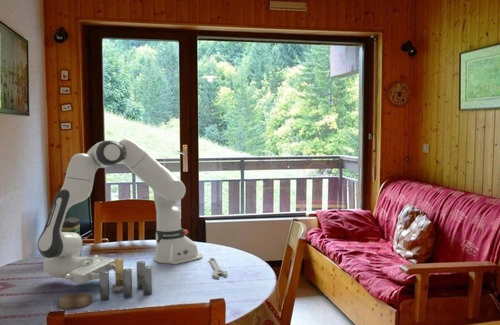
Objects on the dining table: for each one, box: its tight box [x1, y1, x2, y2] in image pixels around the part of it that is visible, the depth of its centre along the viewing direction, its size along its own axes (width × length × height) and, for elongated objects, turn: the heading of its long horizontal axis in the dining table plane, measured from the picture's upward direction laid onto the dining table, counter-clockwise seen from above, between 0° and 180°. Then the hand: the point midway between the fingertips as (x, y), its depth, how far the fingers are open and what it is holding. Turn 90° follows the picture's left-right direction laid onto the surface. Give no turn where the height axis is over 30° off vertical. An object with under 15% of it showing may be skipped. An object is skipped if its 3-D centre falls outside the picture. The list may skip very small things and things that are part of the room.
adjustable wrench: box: [208, 257, 228, 280], centre depth 190 cm, size 25×6×2 cm, turn 9°
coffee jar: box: [61, 216, 81, 236], centre depth 207 cm, size 10×8×19 cm
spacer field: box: [99, 260, 153, 302], centre depth 161 cm, size 15×17×10 cm
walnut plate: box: [58, 292, 93, 310], centre depth 153 cm, size 11×11×2 cm
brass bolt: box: [111, 257, 124, 294], centre depth 165 cm, size 6×6×12 cm
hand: (111, 272), depth 166 cm, fingers open, 8 cm apart
